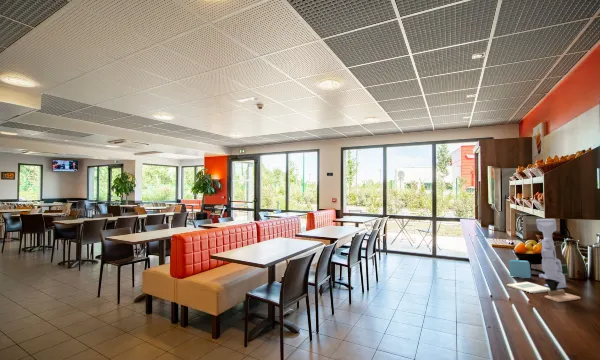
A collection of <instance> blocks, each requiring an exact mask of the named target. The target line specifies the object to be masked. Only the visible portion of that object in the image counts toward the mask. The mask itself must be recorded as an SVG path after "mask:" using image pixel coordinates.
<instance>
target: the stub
mask: <svg viewBox="0 0 600 360" xmlns="http://www.w3.org/2000/svg"><path fill="white" fill-rule="evenodd" d="M547 294H548V295H544V298H545V299H548V300H550V301H554V302H557V303H562V302H567V301H574V300H581V296H578V295H575V294H571V293H567V292H565V289H563V288H559V289H556V290H553V291H547Z"/></svg>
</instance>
